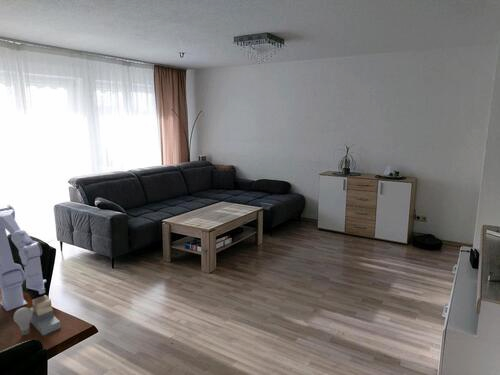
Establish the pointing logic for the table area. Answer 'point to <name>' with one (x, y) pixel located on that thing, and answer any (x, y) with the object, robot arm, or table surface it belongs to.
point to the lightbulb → (23, 319)
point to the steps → (45, 322)
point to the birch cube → (42, 305)
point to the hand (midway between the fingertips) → (38, 304)
